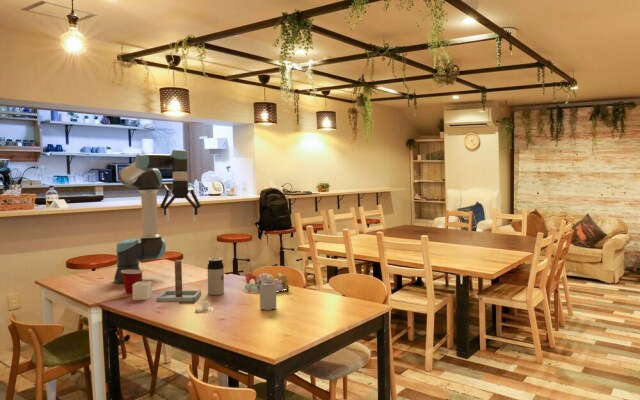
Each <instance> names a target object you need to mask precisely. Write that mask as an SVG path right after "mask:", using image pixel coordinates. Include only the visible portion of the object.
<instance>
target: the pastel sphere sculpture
mask: <svg viewBox="0 0 640 400" xmlns="http://www.w3.org/2000/svg"><path fill="white" fill-rule="evenodd" d="M275 277H276V278H274V276H273V275H272V274H269V273H268V272H263V273H261V274H259V275H258V277H257V275H256V274H253V273H252V272H250V271H248V272H246V274H245V281H246V282H245V283H246V284H244V286H243V288H242V291H243V290H244V291H245V292H244V291H243V292H244V293H246V292H248V293H247V294H252V293H256V294H259V293H258V292H260V286H261V283H263V282H274V283H275V285H276V291H282V290H283V289H287V288H288V287H287V286H289V283H290V282H289V279H288V278H287V275H286V274H282V273H281V272H277V273H276V276H275ZM251 280H253V281H254V282H251Z"/></svg>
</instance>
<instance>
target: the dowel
mask: <svg viewBox="0 0 640 400" xmlns="http://www.w3.org/2000/svg"><path fill="white" fill-rule="evenodd" d="M182 265H183V264H182V260H181V259H180V260H175V261H174V285H175V288H174V289H175V290H174V291H175V293H176V297H182V290H183V274H182V273H183V272H182V269H183V267H182Z"/></svg>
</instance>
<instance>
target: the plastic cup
mask: <svg viewBox="0 0 640 400" xmlns="http://www.w3.org/2000/svg"><path fill="white" fill-rule="evenodd" d="M121 273H122V276H123V281H124V283H123V286H124V289H125V293H126V294H130V295H131V294H132V295H133V289H132V285H133V284H135V283H136V282H141V281H142V280H141V275H142V276H143V273H144V271H143V270H141V269H140V270H122V271H121ZM140 280H141V281H140Z"/></svg>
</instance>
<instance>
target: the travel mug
mask: <svg viewBox="0 0 640 400" xmlns="http://www.w3.org/2000/svg"><path fill="white" fill-rule="evenodd" d="M207 261H208V264H207V294H208V295H211V296H220V295H224V293H225V280H224V279H225V278H224V276H225V274H224V271H225V270H224V269H225V268H224V267H225V266H224V263H223V261H224V258H222V257H210V258H208V259H207Z"/></svg>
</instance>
